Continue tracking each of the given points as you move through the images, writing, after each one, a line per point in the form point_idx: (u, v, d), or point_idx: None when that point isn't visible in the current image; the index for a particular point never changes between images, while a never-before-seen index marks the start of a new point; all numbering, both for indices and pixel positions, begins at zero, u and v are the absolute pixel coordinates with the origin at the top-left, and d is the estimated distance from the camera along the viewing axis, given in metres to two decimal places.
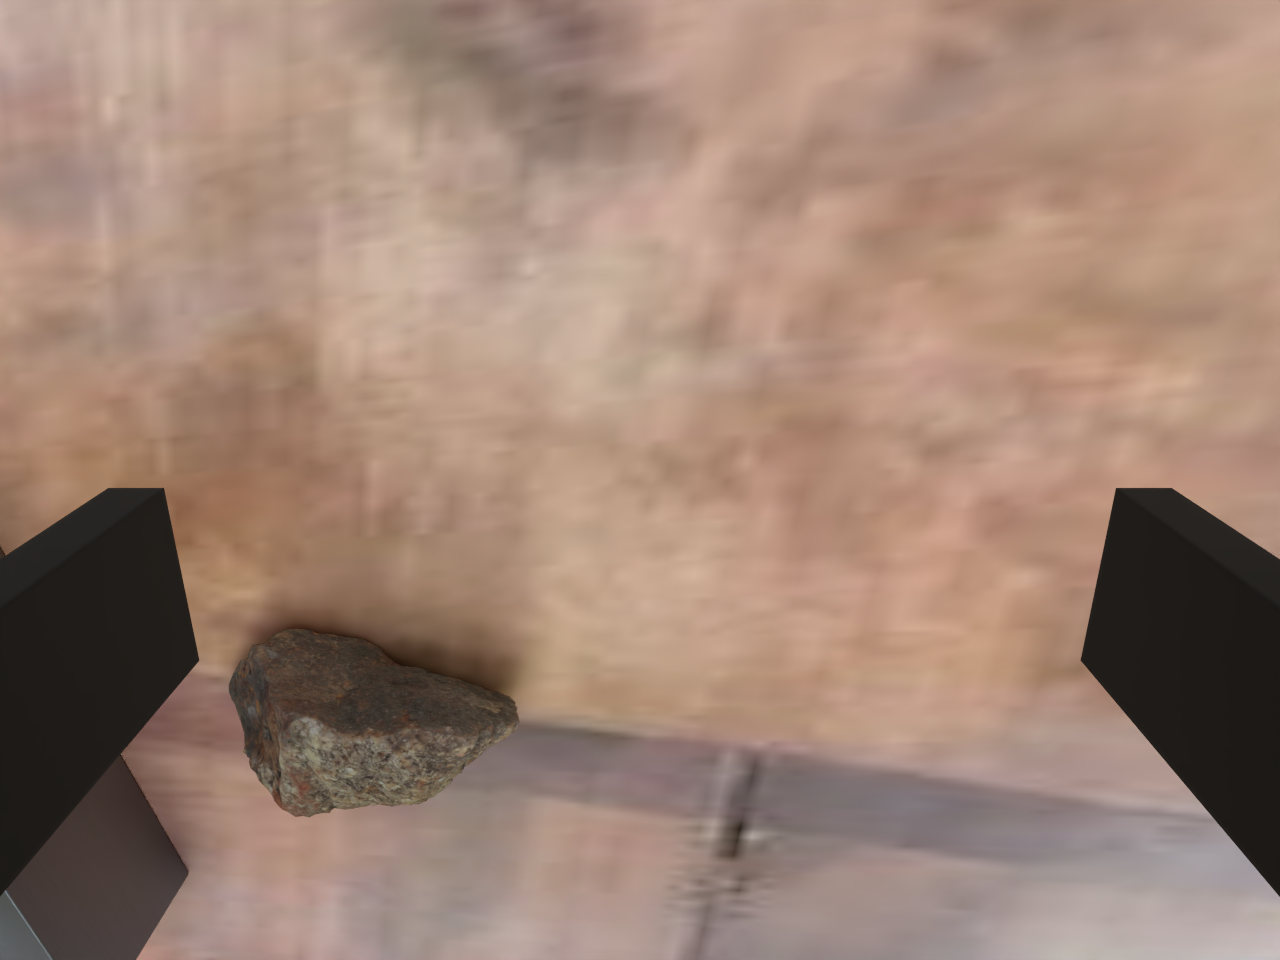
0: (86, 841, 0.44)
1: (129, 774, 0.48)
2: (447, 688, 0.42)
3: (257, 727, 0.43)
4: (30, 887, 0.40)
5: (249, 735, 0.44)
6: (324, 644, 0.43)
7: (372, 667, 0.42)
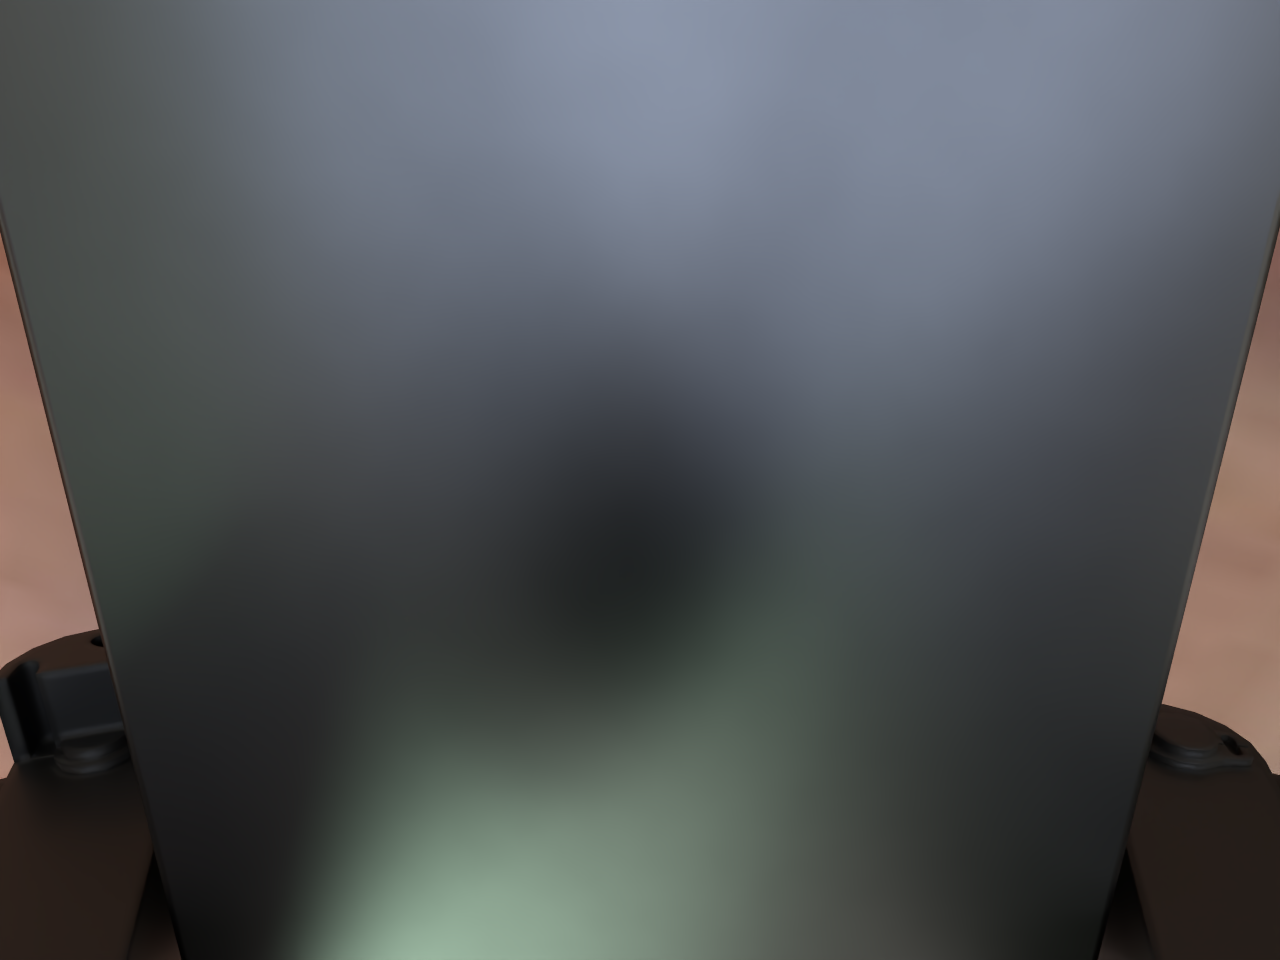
0: None
1: None
2: None
3: None
4: None
5: None
6: None
7: None
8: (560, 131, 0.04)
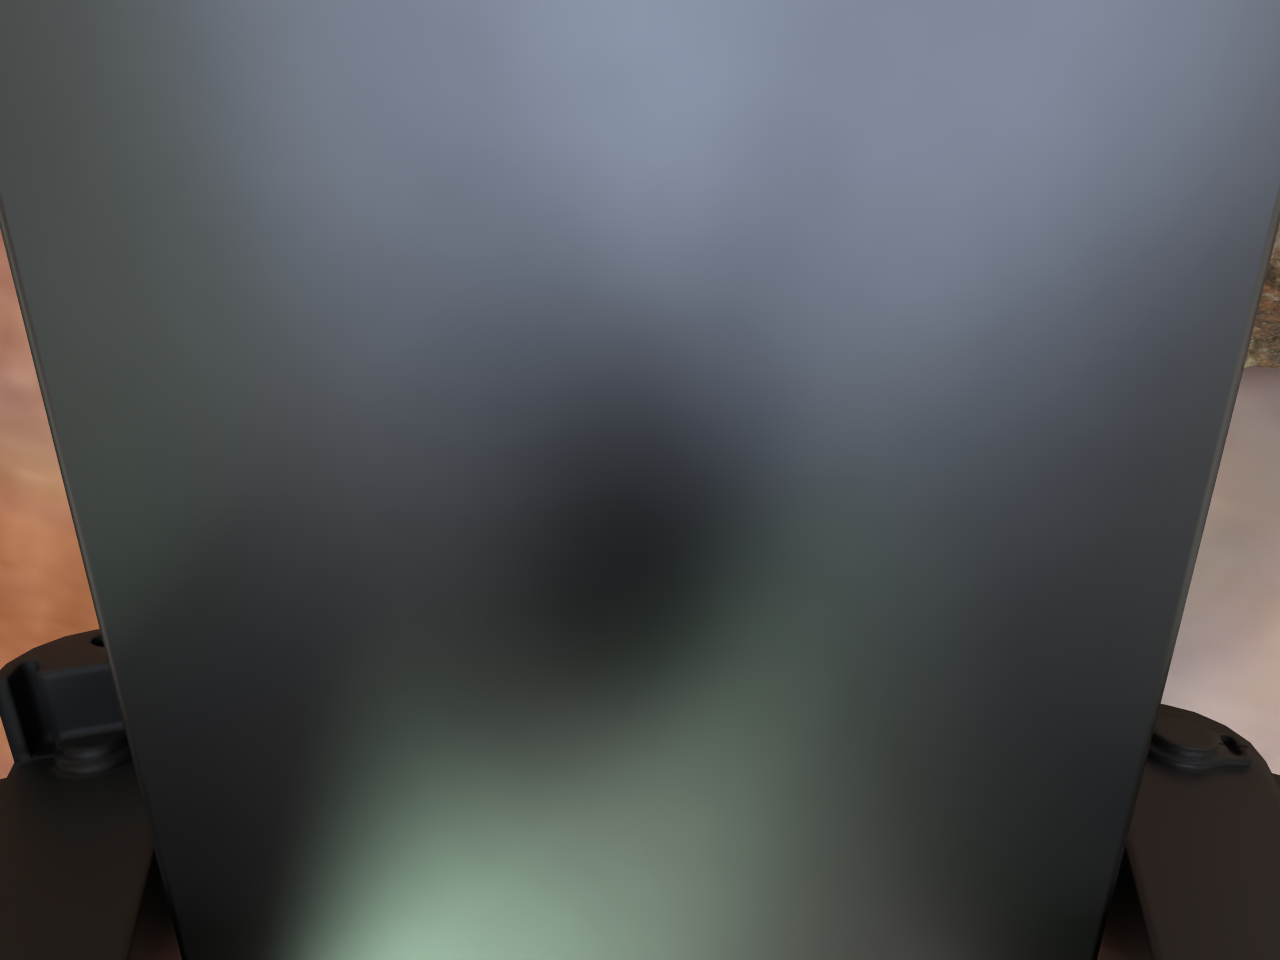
0: None
1: None
2: None
3: None
4: None
5: None
6: None
7: None
8: (562, 127, 0.04)
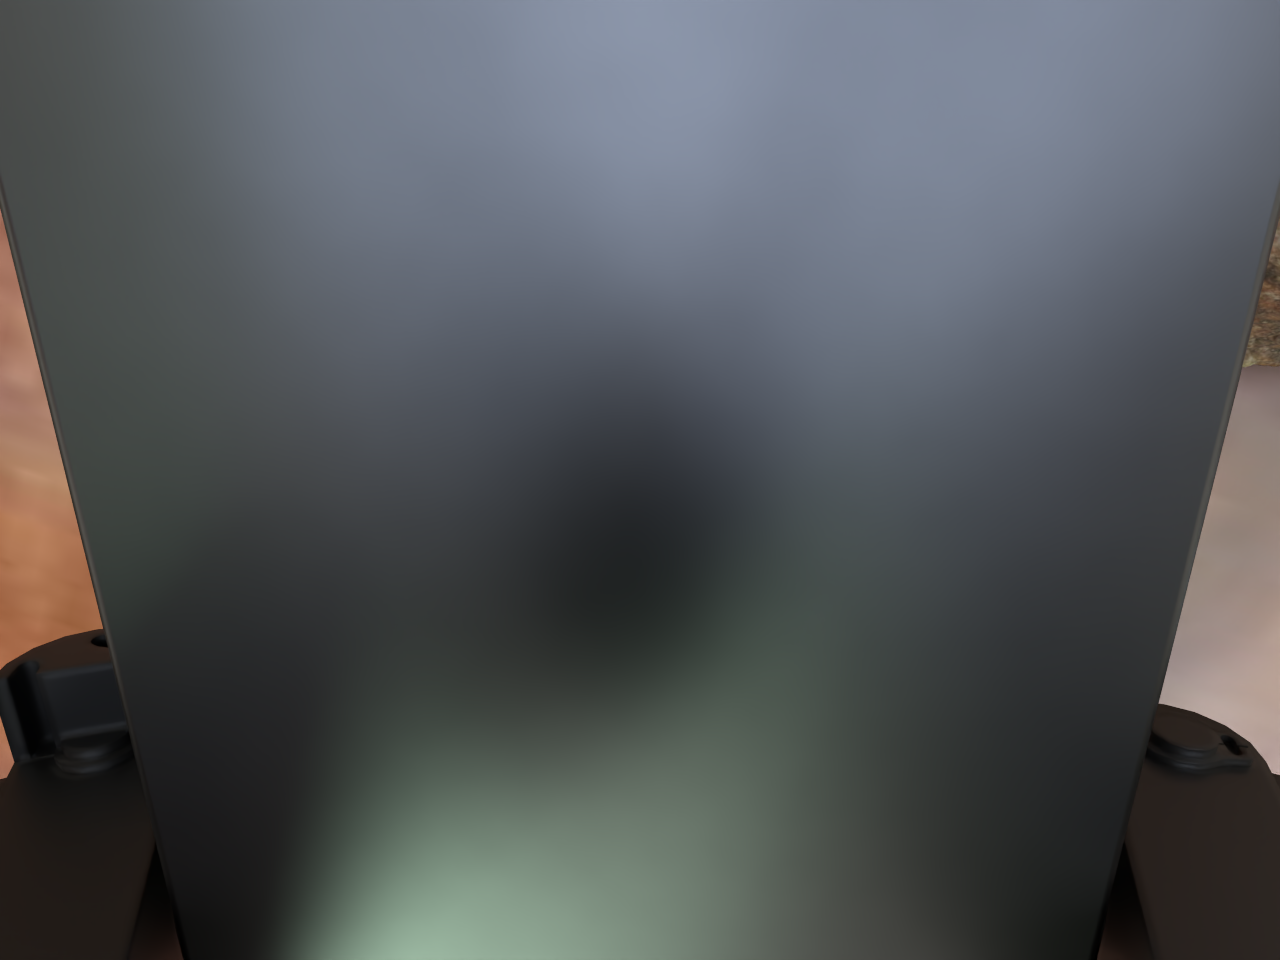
0: None
1: None
2: None
3: None
4: None
5: None
6: None
7: None
8: (565, 125, 0.04)
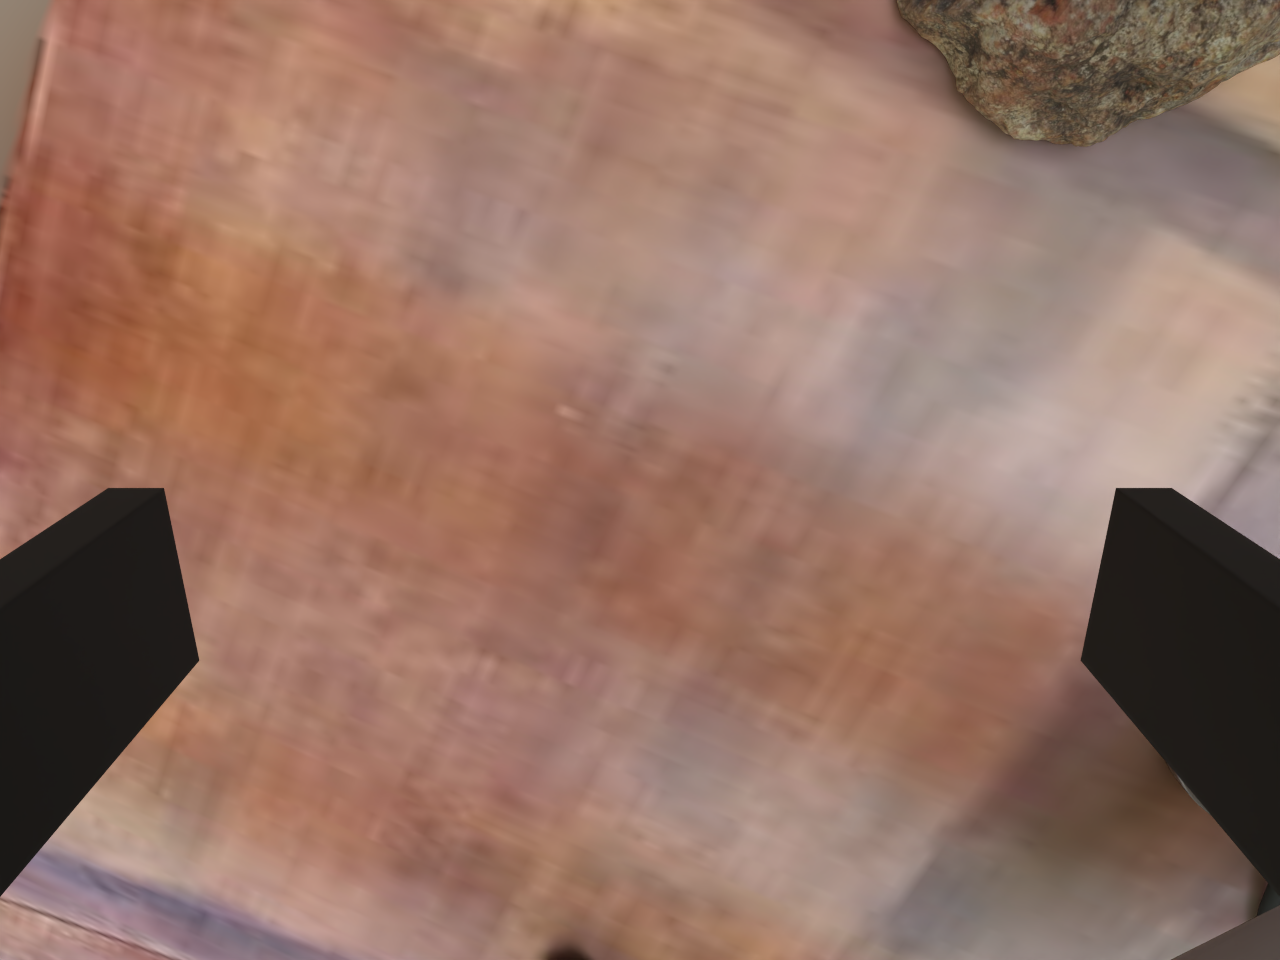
0: None
1: None
2: None
3: None
4: None
5: None
6: None
7: None
8: None
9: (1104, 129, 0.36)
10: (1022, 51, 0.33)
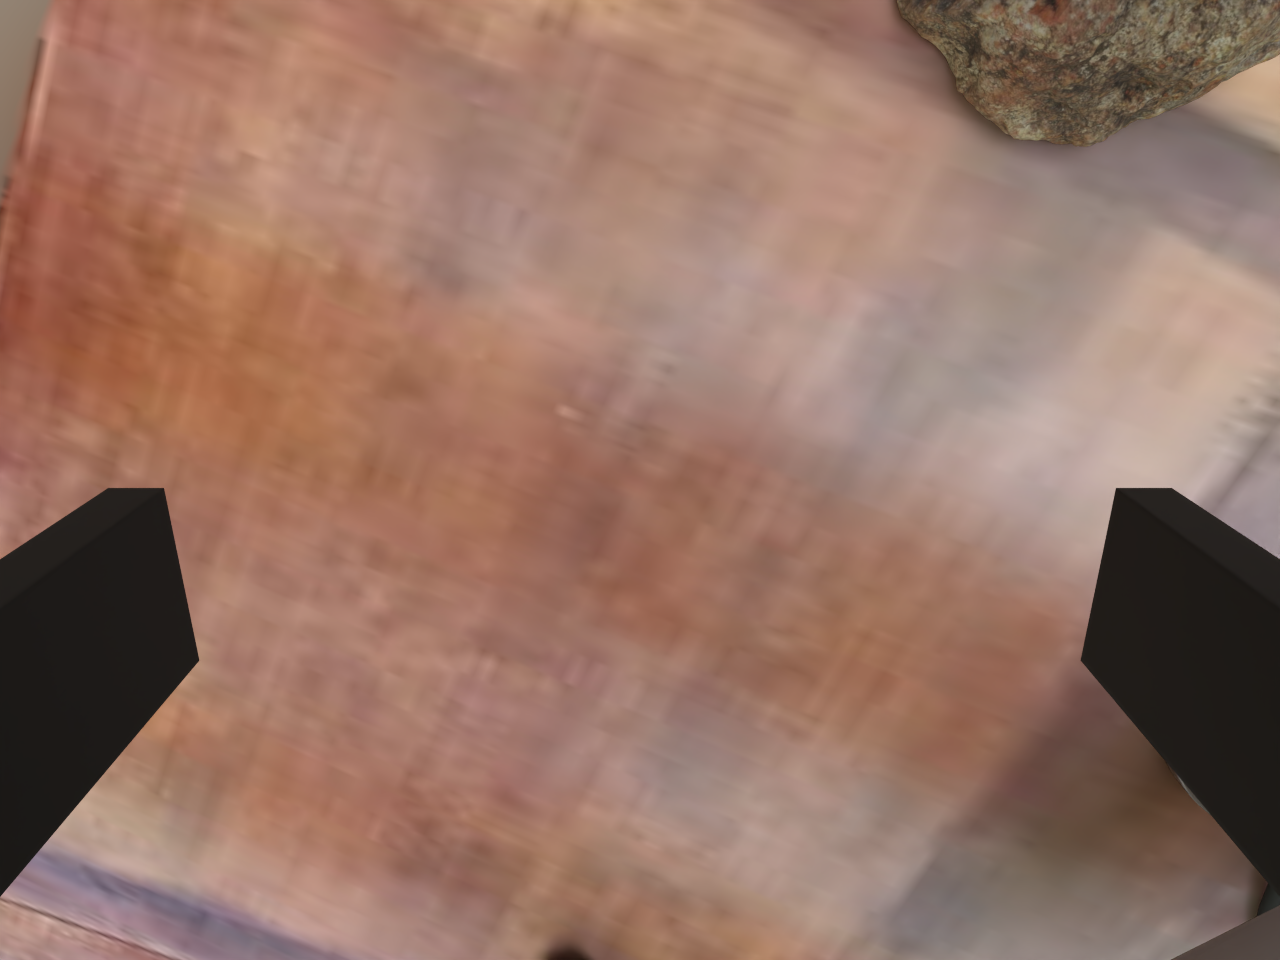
0: None
1: None
2: None
3: None
4: None
5: None
6: None
7: None
8: None
9: (1104, 129, 0.36)
10: (1022, 51, 0.33)
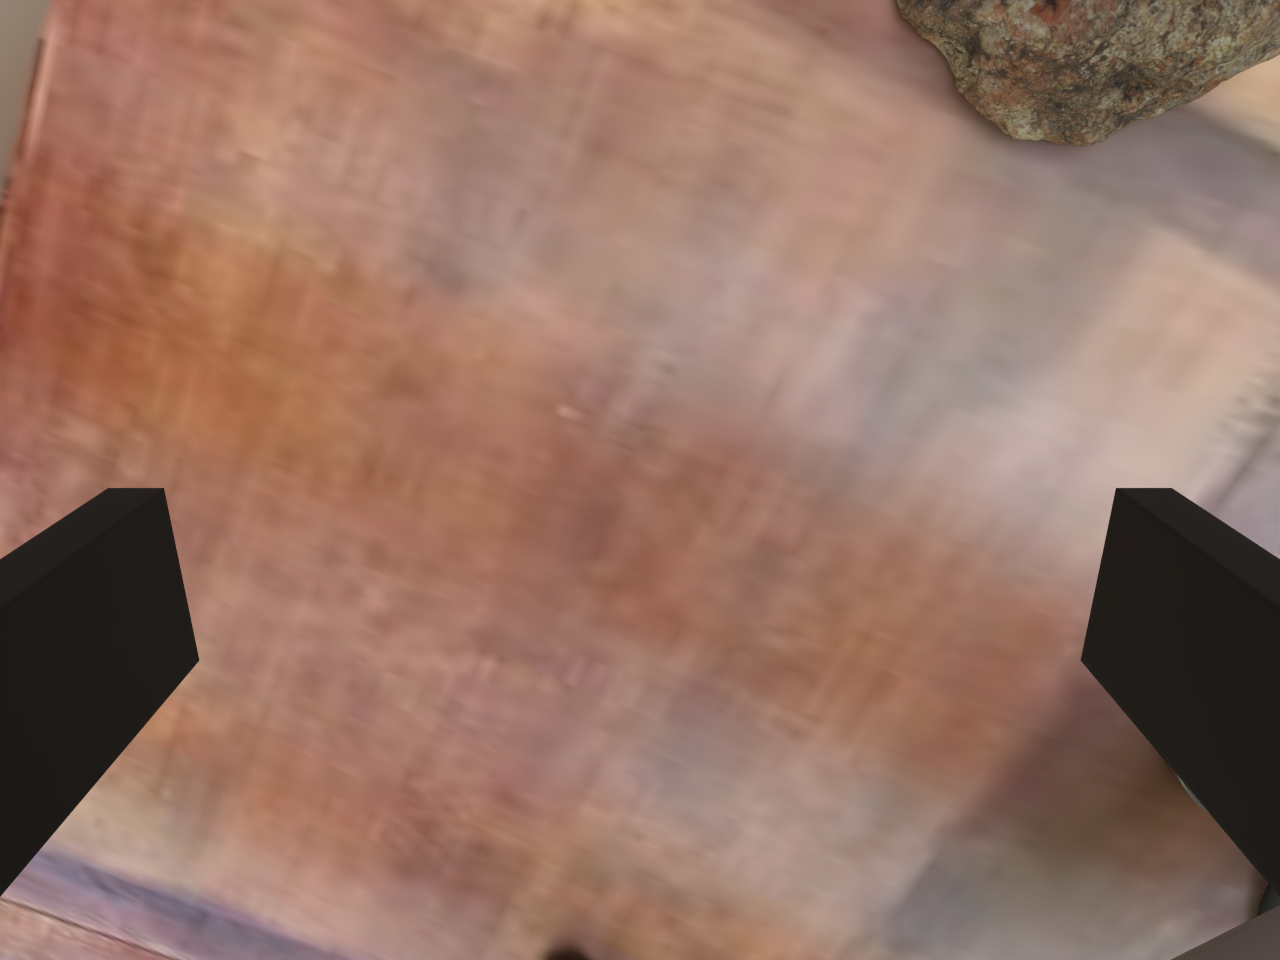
0: None
1: None
2: None
3: None
4: None
5: None
6: None
7: None
8: None
9: (1104, 129, 0.36)
10: (1022, 51, 0.33)
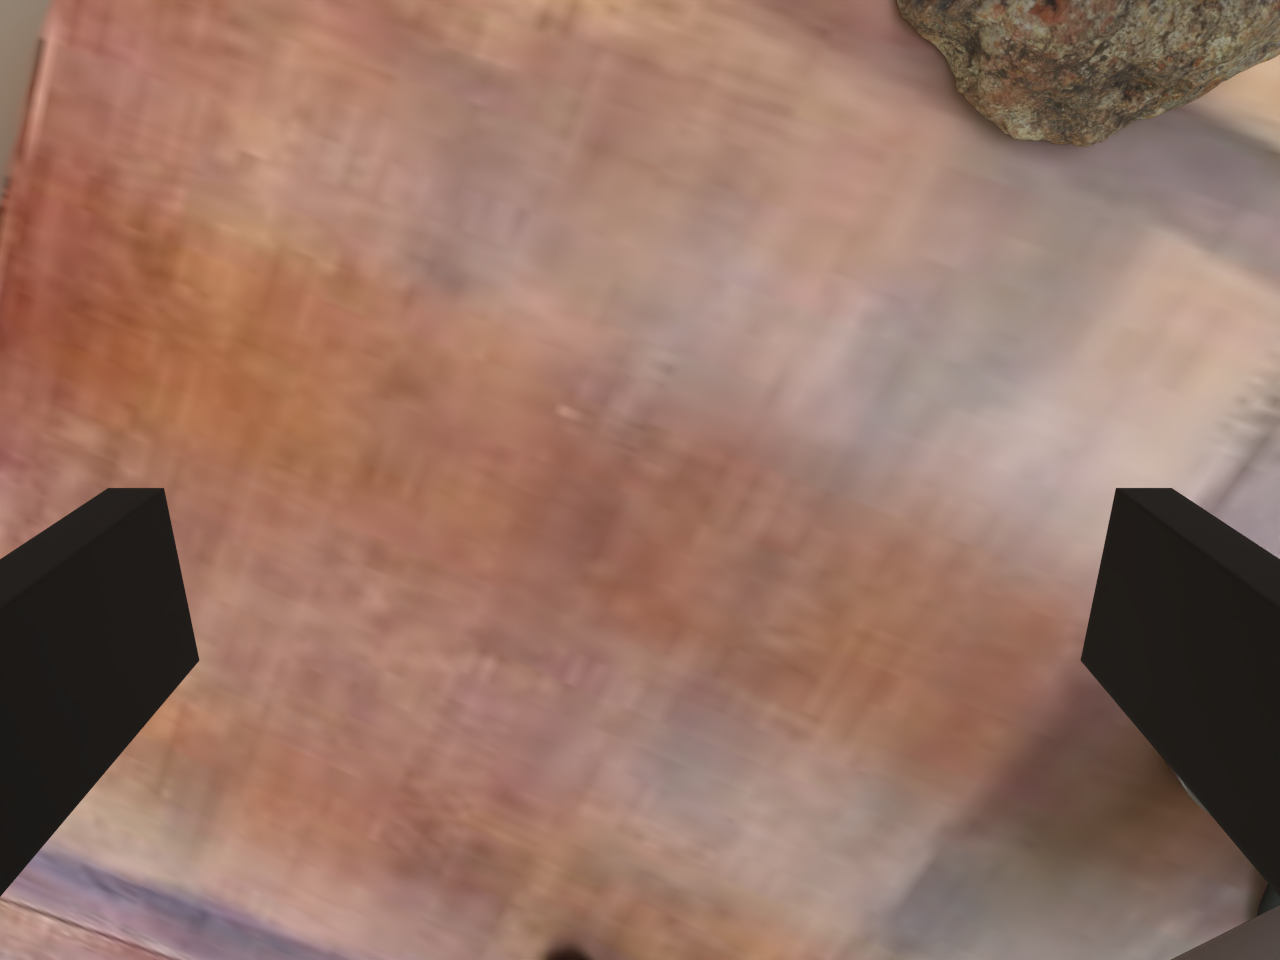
0: None
1: None
2: None
3: None
4: None
5: None
6: None
7: None
8: None
9: (1104, 129, 0.36)
10: (1022, 51, 0.33)
